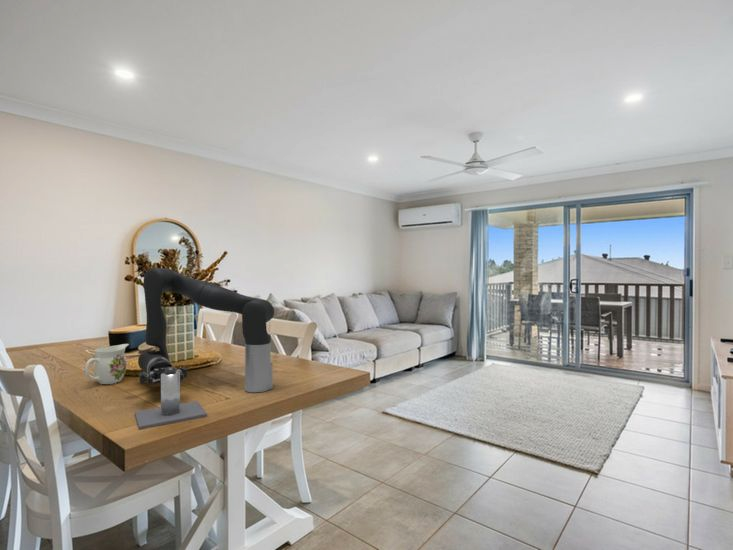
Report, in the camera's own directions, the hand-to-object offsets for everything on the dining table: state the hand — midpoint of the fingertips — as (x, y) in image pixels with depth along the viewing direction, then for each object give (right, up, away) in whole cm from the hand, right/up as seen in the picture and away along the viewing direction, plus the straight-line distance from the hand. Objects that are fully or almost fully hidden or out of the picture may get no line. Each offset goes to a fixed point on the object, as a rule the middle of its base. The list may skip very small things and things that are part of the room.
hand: (166, 379), depth 129 cm
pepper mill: (+5, -8, -7) cm, 12 cm away
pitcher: (-36, -9, +27) cm, 46 cm away
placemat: (+5, -9, -7) cm, 12 cm away
